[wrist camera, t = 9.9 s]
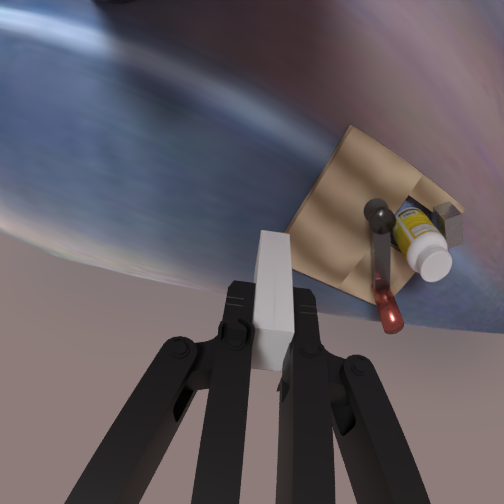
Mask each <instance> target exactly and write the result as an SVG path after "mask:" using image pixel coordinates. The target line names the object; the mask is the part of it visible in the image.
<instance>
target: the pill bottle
mask: <svg viewBox="0 0 504 504" xmlns="http://www.w3.org/2000/svg"><path fill="white" fill-rule="evenodd" d="M395 217H396V224H395V226H394V228H393V229H392V230H391V234H392V236H393V238H394V240H395V242H396V243H397V245H398V247H399V249H400V250H401V252H402V254H403V256H404V257H405V259H406V261H407V263H408V264H409V266H410V267H411V268H412V269H413V270H414V271H415V272H418V273H419V274H420V275H421V277H422V278H423V279H424V280H425V281H427V282H436V281H438V280H440V279H442V278H443V277H445V276H446V275H447V273H448V272H449V270H450V269H451V266H452V258H451V256H450V254H449V252H448V246H447V242H446V240H445V238H444V237H443V236H442V234H441V233H440V232H439V231H438V229H437V228H436V227H435V226H434V225H433V223H432V222H431V221H430V220H429V219H428V217H427V216H426V215H425V214H424V213H423V212H422V211H421V210H420V209H418V208H415V207H408V208H405V209H402V210H401V211H399V212H398V213H397V214H396V215H395Z"/></svg>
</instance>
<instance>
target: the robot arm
mask: <svg viewBox="0 0 504 504" xmlns="http://www.w3.org/2000/svg"><path fill="white" fill-rule="evenodd" d="M100 1H104V2H108V3H125V2H130V1H134V0H100ZM282 366H283V368H282ZM251 368H252V369H262V370H271V371H281V369H283V370H282V372H283V373H282V377H281V380H280V383H279V385H278V388H277V391H280V403H279V405H280V406H279V437H278V464H277V485H276V504H335V475H334V474H335V471H334V448H333V431H332V427H333V430H334V433H335V436H336V439H337V442H338V445H339V448H340V451H341V455H342V458H343V461H344V464H345V467H346V470H347V473H348V476H349V479H350V482H351V486H352V489H353V492H354V495H355V498H356V502H357V504H431V503H430V500H429V498H428V495H427V492H426V489H425V487H424V484H423V481H422V479H421V476H420V474H419V471H418V468H417V466H416V463H415V461H414V458H413V455H412V453H411V451H410V448H409V446H408V443H407V441H406V439H405V436H404V433H403V431H402V429H401V427H400V424H399V422H398V419H397V417H396V415H395V412H394V410H393V408H392V405H391V403H390V401H389V399H388V396H387V394H386V392H385V390H384V388H383V385H382V383H381V381H380V379H379V377H378V374H377V372H376V370H375V368H374V366H373V364H372V363H371V361H370V360H369V359H367V358H366V357H364V356H361V355H352V356H349V357H348V358H347V359H343V358H341V357H338V356H335V355H333V354H331V353H329V352H328V351H326V349H325V348H324V346H323V345H322V344H321V341H320V334H319V325H318V317H317V308H316V299H315V296H314V295H313V293H312V291H311V290H310V289H304V288H295V287H293V286H292V267H291V250H290V234H286V233H279V232H272V231H264V230H261V234H260V241H259V247H258V253H257V260H256V266H255V274H254V283H250V282H243V281H235V280H234V281H233V282H232V284H231V285H230V286H229V287H228V292H227V298H226V303H225V309H224V314H223V319H222V321H221V322H220V325H219V327H218V335H217V336H216V337H215V338H214V339H212V340H209V341H206V342H200V343H194V342H193V341H192V340H190V339H188V338H186V337H182V336H179V337H173V338H171V339H168V340H167V341H166V342H165V343H164V344H163V346H162V348H161V349H160V351H159V352H158V354H157V355H156V357H155V358H154V360H153V361H152V363H151V364H150V366H149V368H148V369H147V371H146V373H145V374H144V375H143V377H142V378H141V380H140V382H139V383H138V385H137V386H136V388H135V390H134V391H133V393H132V394H131V396H130V397H129V399H128V400H127V402H126V404H125V405H124V407H123V408H122V410H121V411H120V413H119V415H118V416H117V418H116V419H115V421H114V423H113V424H112V426H111V428H110V429H109V431H108V432H107V434H106V436H105V437H104V439H103V440H102V442H101V444H100V445H99V447H98V448H97V450H96V452H95V453H94V455H93V457H92V458H91V460H90V462H89V463H88V465H87V466H86V468H85V470H84V471H83V473H82V475H81V477H80V478H79V480H78V481H77V483H76V485H75V487H74V488H73V490H72V491H71V493H70V495H69V497H68V498H67V500H66V502H65V503H64V504H139V502H140V500H141V498H142V496H143V494H144V492H145V490H146V489H147V487H148V485H149V483H150V481H151V479H152V477H153V475H154V474H155V471H156V470H157V468H158V466H159V464H160V462H161V460H162V458H163V456H164V454H165V452H166V450H167V449H168V447H169V445H170V443H171V441H172V439H173V437H174V435H175V433H176V431H177V429H178V427H179V425H180V423H181V421H182V419H183V417H184V416H185V414H186V412H187V410H188V408H189V406H190V404H191V402H192V400H193V398H194V396H195V394H196V392H197V390H202V389H209V393H208V399H207V405H206V411H205V418H204V424H203V430H202V436H201V442H200V449H199V455H198V461H197V468H196V474H195V480H194V487H193V494H192V500H191V504H239V498H240V487H241V476H242V465H243V452H244V442H245V431H246V419H247V407H248V394H249V383H250V371H251Z"/></svg>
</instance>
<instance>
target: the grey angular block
mask: <svg viewBox="0 0 504 504" xmlns="http://www.w3.org/2000/svg"><path fill="white" fill-rule="evenodd" d="M430 217H431V222H432V223H433V225H434V226H435V227H436V228H437V229H438V231H439V232H440V233H441V234H442V236H443V237H444V238H445V240H446V242H447V246H448V249H449V248H452V247H455V246H457V245H460V244H462V243H463V221H462V213H461V212H460V211H459V210H458V209H457V208H456V207H455V206H454V205H453V204H452V203H451V202H450V201H448V202H445V203H443V204H440V205H437V206H434V207H433V212H432V211H430Z"/></svg>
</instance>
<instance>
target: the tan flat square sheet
mask: <svg viewBox="0 0 504 504" xmlns="http://www.w3.org/2000/svg"><path fill="white" fill-rule="evenodd" d="M408 195H409V196H411V197H412V198H414V199H415V200H416V201H418V202H419V203H421V204H422V205H423V206H425V207H426V208H428V209H429V210H430V211H432V212H433V207H434V206H437V205H440V204H443V203H445V202H448V201H450V202H451V203H452V204H453V205H454V206H455V207H456V208H457V209H458V210H459V211H460V212H461V213H463V211H464V210H465V209H464V208H463V207H462V206H461V205H460V204H459V203H458V202H457V201H456V200H454V199H453V198H452V197H451V196H450V195H449V194H447V193H446V192H445V191H444V190H443V189H441V188H440V187H439V186H438V185H436V184H435V183H434V182H433V181H431V180H430V179H429V178H427V177H426V176H425V175H424V174H422V173H421V172H420V171H418V170H417V169H416V168H414V167H413V166H412V165H410V164H409V163H408V162H406V161H405V160H403V159H402V158H401V157H399V156H398V155H396V154H395V153H394V152H392V151H391V150H389V149H388V148H386V147H385V146H383V145H382V144H380V143H379V142H377V141H376V140H374V139H373V138H371V137H370V136H368V135H367V134H365V133H363V132H362V131H360V130H359V129H357V128H355V127H354V126H352V125H351V124H350V126H349V127H348V129H347V131H346V132H345V134H344V136H343V137H342V139H341V141H340V142H339V144H338V145H337V147H336V149H335V150H334V152H333V154H332V155H331V157H330V159H329V160H328V162H327V164H326V165H325V167H324V169H323V170H322V172H321V173H320V175H319V177H318V178H317V180H316V182H315V183H314V185H313V186H312V188H311V190H310V191H309V193H308V195H307V196H306V198H305V199H304V201H303V203H302V204H301V206H300V208H299V209H298V211H297V212H296V214H295V216H294V217H293V219H292V220H291V222H290V224H289V225H288V227H287V228H286V230H285V232H284V233H286V234H290V250H291V267H292V269H294V270H297V271H299V272H301V273H304V274H306V275H308V276H310V277H313V278H315V279H317V280H320V281H322V282H324V283H326V284H329V285H331V286H333V287H335V288H338V289H340V290H342V291H345V292H347V293H349V294H351V295H354V296H356V297H358V298H361V299H363V300H365V301H367V302H370V303H372V304H374V305H376V303H375V300H374V297H373V294H372V291H371V284H372V254H371V235H370V225H369V214H371V213H372V212H373V211H374V210H375V209H377V208H379V207H387V208H389V209H390V210H391V211H392V212H393V213H394V215H395V214H396V212H397V211H398V209H399V208H400V207H401V205H402V204H403V202H404V201H405V200H406V198H407V197H408ZM414 273H415V271H414V270H413V269H412V268H411V267H410V266H409V264H408V263H407V261H406V259H405V257H404V256H403V254H402V252H401V250H400V249H399V247H397V246H395V245H394V244H392V243H391V267H390V288H391V290H392V293H393V295H394V296H395V295H396V294H397V293H398V292H399V290H400V289H401V288H402V287H403V286H404V285H405V284H406V283H407V281H408V280H409V279H410V278H411V277H412V276H413V275H414Z"/></svg>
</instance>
